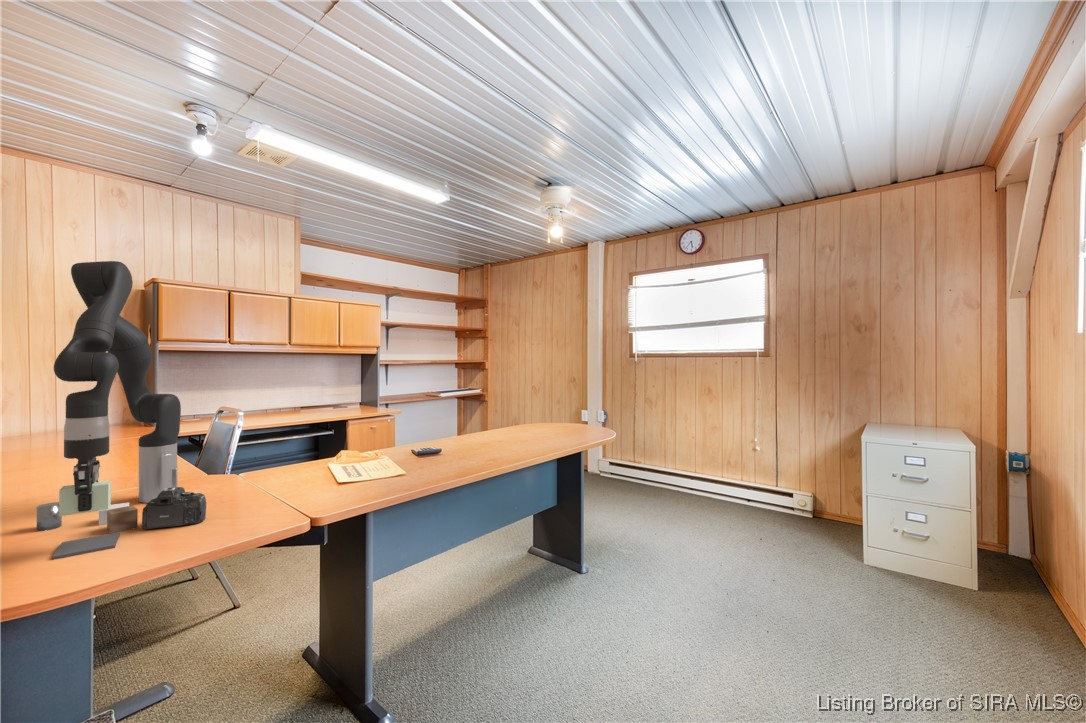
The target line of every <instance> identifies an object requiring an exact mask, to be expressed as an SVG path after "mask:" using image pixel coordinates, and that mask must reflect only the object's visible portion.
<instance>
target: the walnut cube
mask: <svg viewBox="0 0 1086 723" xmlns="http://www.w3.org/2000/svg"><path fill="white" fill-rule="evenodd" d="M138 511H139V510H138V508H137V507H136V506H135V505H133V504H132V505H129V506H126V507H121V508H116V509H111V510H107V524H106V528H107V529H106V530H107V531H108V532H109V534H111V533H116V532H120V533H121V532H124V530H125V531H129V530H134V529H137V527H138V524H139V521H138V519H139V518H138V517H139V516H138ZM133 528H134V529H133ZM128 529H129V530H128Z"/></svg>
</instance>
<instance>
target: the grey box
mask: <svg viewBox="0 0 1086 723" xmlns="http://www.w3.org/2000/svg"><path fill="white" fill-rule="evenodd" d="M126 506H130V502H122V503H116V504H111V505H110V507H109V509H106V510H99V511H98V526H103V525H107V510H111V509H116V508H121V507H126Z"/></svg>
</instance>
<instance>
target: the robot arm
mask: <svg viewBox="0 0 1086 723" xmlns="http://www.w3.org/2000/svg"><path fill="white" fill-rule="evenodd" d="M70 275H71V279H72V281H73V283H74V286H75V288H76V290H77V292H78V293H79V296H80V297H81V299H82V301H83V303H84V304H85V306H86V309H85V311H83V312H82V313H81V314H80V316H79V317H78V319H76V323H75V326H74V330H73V334H72V337H71V340H70V341H69V342H68V343H67V344H66V346H65V347H64V348H63V349H62V350H61V352H60V353H59V354H58V355H57V357H56V359H55V361H54V363H53V372H54V375H55V376H56V377H57V379H59V380H61V381H63V382H69V383H72V382H73V383H78V382H96V385H95V386H94V387H93V388H91V389H88V390H83V391H82V390H81V391H76V392H71V393H70V394H69V393H68V395H67V396H66V397H65V420H64V426H63V457H64V459H68V460H69V459H70V460H71V459H72V460H73V459H76V460H77V463H75V465H74V466H73V471H72V472H73V474H72V475H73V485H74V486H75V492H74V493H75V495H77V496H78V511H79V512H82V511H89V510H91V508H92V492H93V484H94V483H96V482H99V478H100V467H101V461H100V460H99V459H98V460H97V457H101V456H102V457H103V456H105V455H108V454H109V453H110V420H109V397H110V392H111V388H112V386H113V382H114V381H115V378H116V375H117V376H118V378H119V380H120V382H121V386H122V388H123V391H124V394H125V397H126V401H127V405H128V408H129V411H130V415H131V416H132V417H133V419H134V420H135V421H136V422H139V423H143V424H155V428H154V430H153V431H152V432H149V433H146V434H144V435H141V436H140V437H139V438H138V502H139V503H143V504H144V503H146V504H147V503H148V502H150V500H151V499H155V498H157V496H158V495H159V494H160V493H161V491H163V490H164V489H166V488H172V487H178V437H179V433H180V430H181V429H180V428H181V414H182V413H181V412H182V407H181V406H182V405H181V401H180V398H179V397H178V396H177V395H175V394H172V393H152V392H151V390H150V389H149V385H148V384H147V374H148V372H149V369H150V367H151V365H152V361H153V357H154V356H153V355H154V354H153V351H152V349H151V346H150V343H149V340H148V338H147V336H146V334H145V333H144V332H143V331H142V330H141V329H140V328H138V327H137V326H136V325H135V324H133V323H131V322H130V321H129V320H127V319H125V317H123V316H122V315H120V314H121V313H122V312H123V309H124V307H125V305H126V303H127V301H128V298H129V297H130V294H131V292H132V289H133V276H132V273H131V271H130V269H129V267H128V266H127V265H126V264H125V263H124V262H122V261H116V260H115V261H114V260H107V261H105V260H102V261H101V260H100V261H89V262H88V261H84V262H76V263H74V264H72V265H71V268H70ZM83 485H86V486H87V488H85V489H81V486H83Z"/></svg>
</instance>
